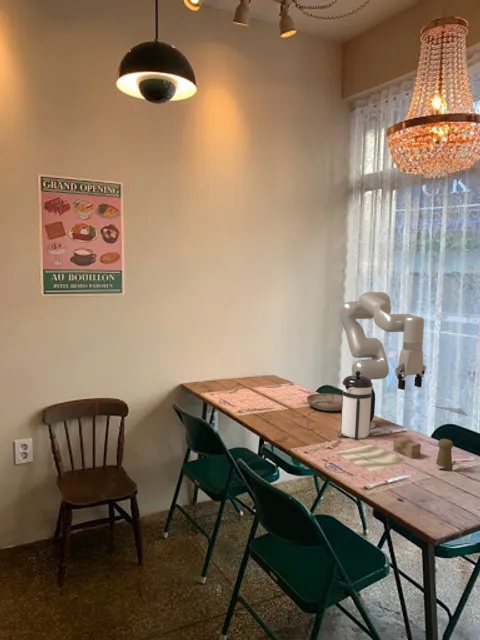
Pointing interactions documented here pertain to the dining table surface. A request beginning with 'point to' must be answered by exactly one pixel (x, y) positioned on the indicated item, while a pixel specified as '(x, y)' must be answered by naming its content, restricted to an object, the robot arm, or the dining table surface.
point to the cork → (445, 455)
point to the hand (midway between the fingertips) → (409, 388)
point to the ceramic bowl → (326, 401)
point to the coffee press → (357, 406)
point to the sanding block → (407, 447)
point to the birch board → (371, 457)
